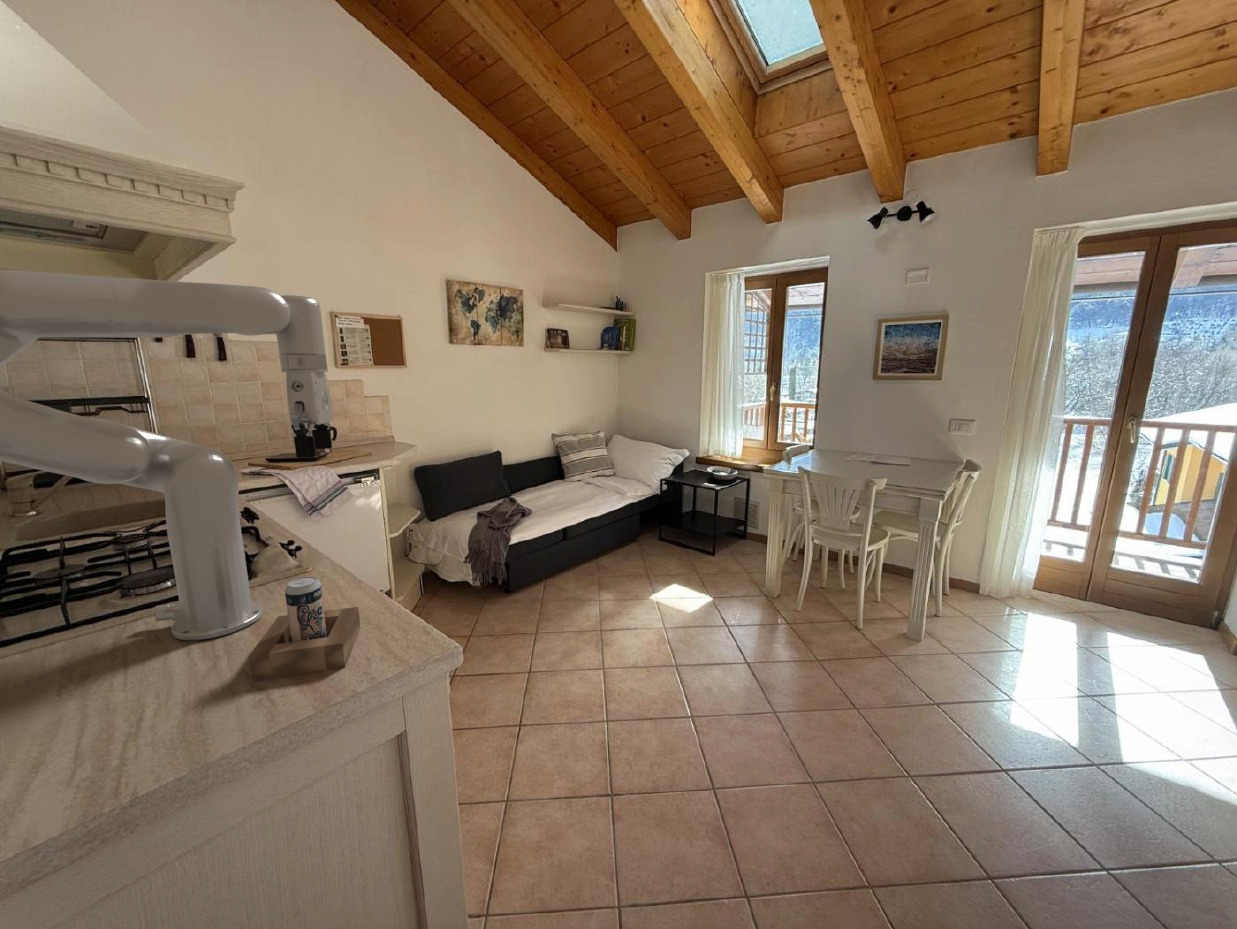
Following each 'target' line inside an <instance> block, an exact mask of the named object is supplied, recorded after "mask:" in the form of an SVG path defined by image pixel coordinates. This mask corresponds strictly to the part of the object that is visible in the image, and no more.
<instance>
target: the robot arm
mask: <svg viewBox="0 0 1237 929" xmlns="http://www.w3.org/2000/svg"><path fill="white" fill-rule="evenodd" d="M199 334H201V335H205V334H206V335H207V334H237V335H242V336H249V337H250V336H251V337H252V336H260V335H276V340H277V347H278V348H277V349H278V354H279V355H278V356H279V363H280V368H281V373H285V383H286V385H285V386H286V388H285V389H286V398H287V408H288V414H289V420H290V423H291V426H290V427H291V429H292V436H293V441H294V448H295V450H294V451H295V454H296V455H295V456H296V458H297V459H304V458H308V459H309V458H315V457H317V450H324V449H325V450H330V449H332V448H333V442H332V433H331V429H330V428H331V424H330V422H331V421H333V419H334V411H333V404H332V398H331V391H330V388H329V387H330V386H329V383H328V379H327V374H326V373H328V363H327V362H328V360H327V355H326V354H327V353H326V346H325V345H326V344H325V337H324V328H323V319H322V311H321V304H320V303H319V302H318V300H316V299H315V298H313V297H310V296H304V295H293V294H291V295H285V294H284V295H280V294H279V293H277V291H276V292H275V291H274V290H271V289H269V288H266V287H261V286H251V285H237V284H225V283H210V282H209V283H208V282H205V283H204V282H188V281H186V282H185V281H173V280H171V281H169V280H163V279H162V280H161V279H149V278H148V279H145V278H129V277H114V276H112V277H111V276H101V275H100V276H97V275H84V274H72V273H71V274H70V273H58V272H47V271H46V272H45V271H31V270H17V269H5V270H4V269H0V369H1V368H3V367H4V366H5V365H7V364H8V363H9V362H11V361H12V360H13V359H15V358H16V357H17V356H18V355H20V354H21V353H22V352H23V351H25V350H27V348H29V347H30V346H31V345H32V344H34V343H35V342H36V341H37V340H39V338H124V339H125V338H126V339H127V338H130V339H132V338H133V339H134V338H135V339H136V338H139V339H140V338H143V339H144V338H145V339H148V338H169V337H170V338H171V337H179V336H186V335H199ZM0 462H5V463H8V464H13V465H17V466H21V467H26V468H30V469H34V470H40V471H44V472H49V473H52V474H53V473H54V474H57V475H63V476H68V477H72V478H76V479H80V480H83V481H85V482H89V483H95V484H103V485H115V484H116V485H118V484H120V485H124V486H128V487H129V486H130V487H134V488H140V489H144V490H149V491H155V492H158V493H159V492H160V493H163V496H164V503H165V505H164V506H165V522H166V524H165V525H166V526H165V527H166V534H167V540H168V545H169V549H170V556H171V559H172V566H173V572H174V578H175V584H176V590H177V594H178V602H177V603H174V604H171V603H167V604H161V605H156V606H155V607H154V610H153V614H154V615H153V616H154V620H155V621H156V622H162V621H167V620H172V621H174V623H173V624H172V626H171V634H172V636H173V637H174V638H176V639H177V640H181V641H182V640H183V641H201V640H202V641H204V640H208V639H209V640H210V639H214V638H218V637H223V636H225V635H229V634H233V633H235V632H238V631H240V630H242V629H244V628H247V627H248V626H250V625H252V624H254V623H255V622H257V621H258V620H259V619H260V618H261V617H262V616H263V614H264V606H263V604H262V603H261V602H259V601H256V600H252V597H251V590H250V584H249V583H250V582H249V576H248V569H247V568H248V567H247V562H246V553H245V547H244V541H243V540H244V539H243V534H242V528H241V520H240V518H241V517H240V511H239V492H240V491H239V490H240V489H239V487H240V483H239V474H238V471H237V468H236V466H235V464H234V463H233V462H232V460H231V459H230V458H229V456H227V455H225V454H224V453H222V451H220V450H217V449H216V448H211V447H209V446H205V445H201V444H196V443H192V442H189V441H186V440H181V439H178V438H173V437H169V436H167V435H163V434H159V433H155V432H153V431H148V430H144V429H141V428H137V427H133V426H131V425H127V424H123V423H120V422H117V421H113V420H109V419H104V418H90V417H85V416H82V415H78V414H75V413H71V412H67V411H64V410H60V409H56V408H53V407H50V406H47V405H44V404H40V403H36V402H34V401H33V402H32V401H30V400H26V399H23V398H20V397H17V396H14V395H12V394H10V393H8V392H6V391H5V390H3V389H2V388H1V387H0Z"/></svg>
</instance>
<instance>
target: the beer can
mask: <svg viewBox="0 0 1237 929" xmlns="http://www.w3.org/2000/svg"><path fill="white" fill-rule="evenodd" d="M285 588H286V589H285V590H284V594H285V601H286V602H285V603H286V611H287V615H288V620H289V628H290V636H291V642H296V641H303V640H311V639H318V638H326V637H327V633H326V624H325V615H324V611H325V608H324V607H325V606H324V598H323V589H322V582H320V580H319V579H318V577H315V576H302V577H299V578H295V579H293V580H291V581H289V582H288V584H287V585H286V587H285Z"/></svg>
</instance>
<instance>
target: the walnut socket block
mask: <svg viewBox="0 0 1237 929" xmlns="http://www.w3.org/2000/svg"><path fill="white" fill-rule="evenodd" d="M324 615H325V624H326V633H327V637H326V638H318V639H311V640H303V641H296V642H291V636H290V628H289V620H288V614H287V615H279V616H277V617H276V618H275V619H274V621H273V623H272V624H271V626H269V628H268V629H267V631H266V632H265V633H264V634H263V636H262V637H261V639H260V640H259V641H258V643H257V644H256V645H255V647H254V648H253V650H252V651H251V652H250V654H249V655H248V660H249V666H250V667H249V670H250V675H251V681H252V682H257V681H263V680H269V679H275V678H277V679H278V678H283V677H290V676H296V675H302V674H308V673H309V674H310V673H315V672H323V671H329V670H335V669H342V668H346V666H347V663H348V661H349V658H350V656H351V653H352V650H353V648H354V644H355V643H356V640H357V637H358V635H359V632H360V630H361V624H360V623H361V622H360V610H359V606H355V607H354V606H353V607H345V608H337V609H328V610H324Z"/></svg>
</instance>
